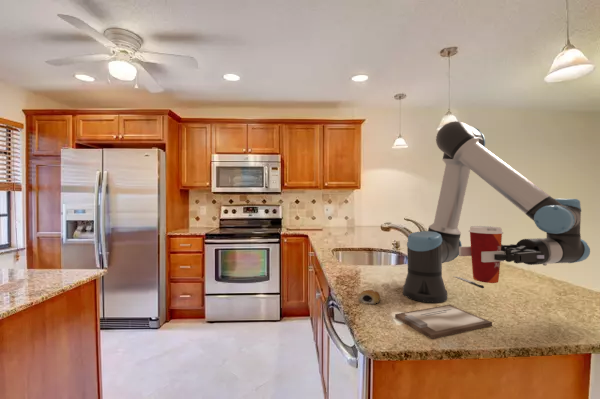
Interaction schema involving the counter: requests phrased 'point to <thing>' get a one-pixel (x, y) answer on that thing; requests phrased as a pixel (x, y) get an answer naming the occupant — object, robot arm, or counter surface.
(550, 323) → the counter surface
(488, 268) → the coffee cup
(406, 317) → the brown framed picture
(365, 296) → the pastry
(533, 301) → the counter surface
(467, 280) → the chef's knife
